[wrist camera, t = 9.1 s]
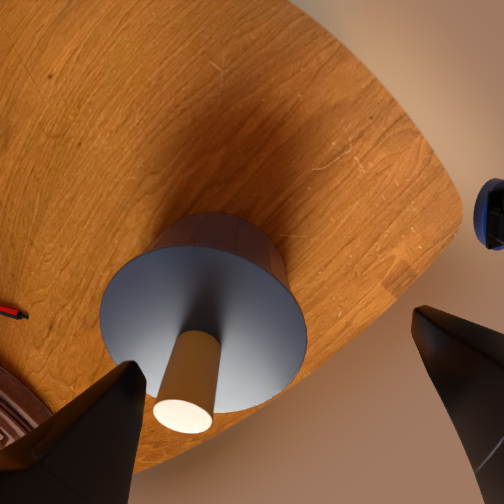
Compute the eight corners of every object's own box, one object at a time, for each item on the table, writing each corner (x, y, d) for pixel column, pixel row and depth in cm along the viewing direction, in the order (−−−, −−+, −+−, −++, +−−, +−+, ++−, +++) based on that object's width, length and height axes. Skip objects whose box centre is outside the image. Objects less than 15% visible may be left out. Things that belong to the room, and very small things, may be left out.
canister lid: (286, 214, 12) (311, 264, 7) (312, 386, 16) (328, 460, 11) (78, 262, 13) (16, 315, 8) (152, 404, 17) (132, 468, 12)
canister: (269, 197, 19) (281, 226, 12) (293, 324, 23) (308, 392, 16) (130, 230, 20) (78, 271, 13) (173, 343, 23) (151, 408, 16)
